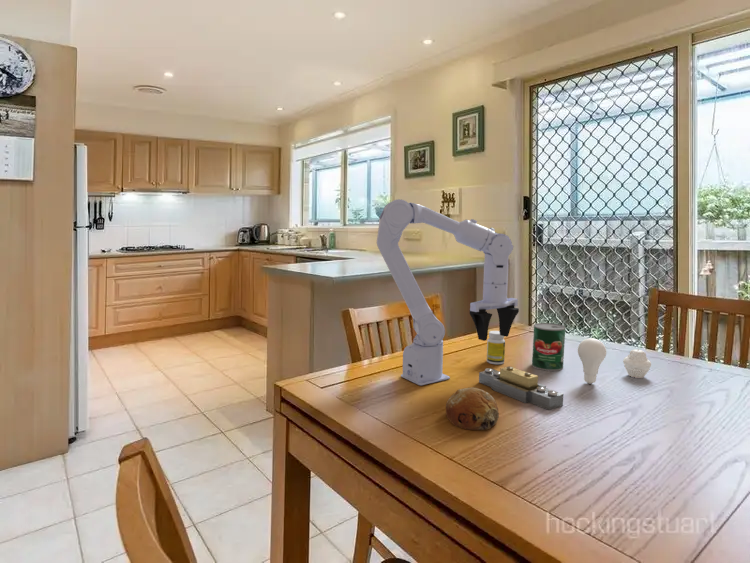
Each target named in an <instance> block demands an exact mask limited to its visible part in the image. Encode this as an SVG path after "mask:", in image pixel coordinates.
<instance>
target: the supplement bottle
mask: <svg viewBox="0 0 750 563" xmlns="http://www.w3.org/2000/svg"><path fill="white" fill-rule="evenodd" d="M486 342H487V344H486V362H487V363H488V364H491V365H503V364H505V357H506V356H505V355H506V354H505V352H506V341H505V336H502V335H500V331H499V330H490V331H488V337H487V340H486Z"/></svg>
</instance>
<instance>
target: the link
mask: <svg viewBox="0 0 750 563" xmlns="http://www.w3.org/2000/svg"><path fill="white" fill-rule="evenodd" d="M499 370H500V380H501V381H504V382H507V383H509V384H512V385H515V386H517V387H520V388H523V389H525V390H528V391H531V390H534V389H537V387H538V383H539V382H538V381H539V375H537V374H533V373H531V372H528V371H526V370H525V371H524V370H521V369H518V368H515V367H513V366H505V367H502V368H500V369H499Z"/></svg>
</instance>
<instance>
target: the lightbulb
mask: <svg viewBox="0 0 750 563" xmlns="http://www.w3.org/2000/svg"><path fill="white" fill-rule="evenodd" d="M577 355H578V356H579V359H580V361H581V363H582V368H583V369H582V370H583V371H582V372H583V373H584V375H583V380H584V382H586V383H587V384H590V385H592V384H595V383H596V381H597V375H598V374H599V369H600V367H601V364H602V363H603V361H605V359H606V356H607V348H606V346H605V344H604V343H603V342H602V341H601V340H599V339H597V338H593V337H592V338H591V337H590V338H585V339H584V340H582V341H581V342H580V343H579V344H578V347H577Z"/></svg>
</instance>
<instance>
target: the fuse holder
mask: <svg viewBox="0 0 750 563" xmlns="http://www.w3.org/2000/svg"><path fill="white" fill-rule="evenodd" d="M478 374H479V375H478V383H480V384H482V385H484V386H487V387H489V388H491V390H492V391H495V392H497V393H499V394H502V395H504V396H507V397H509V398H512V399H514V400H516V401H519V402H522V403H524V404H527V403H530V404H532V405H535V406H537V407H540V408H543V409H545V410H547V411H551V410H554V409H557V408H559V407H562V406H564V393H562V392H559V391H557V390H554V389H550V388H548V387H547V385H545V384H542V383H539V382H538V387H537V389H534V390H531V391H528V390H525V389H523V388H520V387H517V386H515V385H512V384H509V383H507V382H504V381H501V380H500V371H499V370H496V369H495V368H494V369H493V368H491V367H490V368H489V367H488V368H485V369H484V370H483V371H480V372H478Z"/></svg>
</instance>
